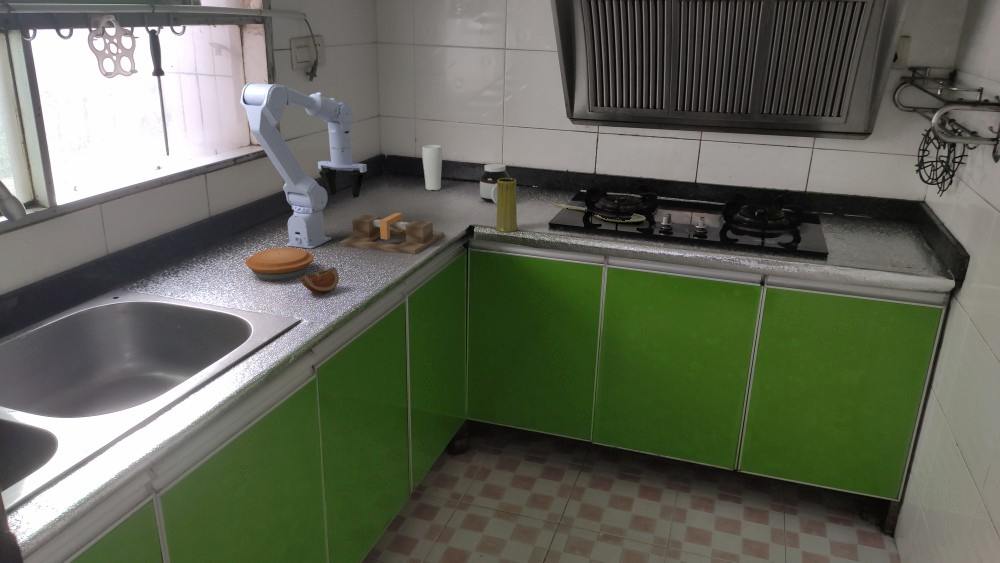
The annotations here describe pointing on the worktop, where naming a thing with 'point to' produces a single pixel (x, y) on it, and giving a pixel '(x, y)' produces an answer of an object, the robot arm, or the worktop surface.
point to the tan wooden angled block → (388, 221)
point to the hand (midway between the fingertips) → (344, 195)
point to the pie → (280, 263)
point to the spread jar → (491, 181)
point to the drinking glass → (432, 166)
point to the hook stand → (369, 230)
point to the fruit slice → (321, 281)
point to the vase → (506, 205)
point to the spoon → (634, 218)
